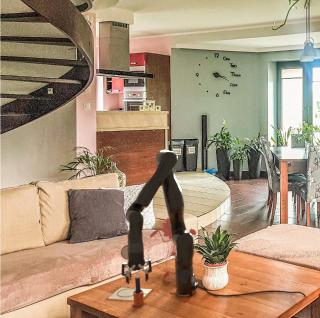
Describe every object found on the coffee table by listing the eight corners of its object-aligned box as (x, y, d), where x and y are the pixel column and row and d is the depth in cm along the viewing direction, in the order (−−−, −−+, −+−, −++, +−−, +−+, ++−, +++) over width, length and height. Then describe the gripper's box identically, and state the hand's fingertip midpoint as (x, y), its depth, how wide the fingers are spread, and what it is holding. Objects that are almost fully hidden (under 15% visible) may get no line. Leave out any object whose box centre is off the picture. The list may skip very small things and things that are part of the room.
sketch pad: (152, 290, 232) (152, 289, 232) (140, 301, 218) (140, 300, 218) (121, 288, 236) (120, 287, 236) (107, 299, 222) (107, 298, 222)
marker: (142, 303, 216) (140, 276, 214) (140, 305, 213) (138, 278, 212) (137, 302, 216) (136, 276, 214) (135, 304, 214) (134, 278, 212)
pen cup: (145, 303, 217) (145, 289, 216) (141, 307, 212) (140, 293, 211) (136, 302, 218) (136, 289, 217) (132, 307, 213) (131, 293, 212)
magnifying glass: (138, 277, 250) (136, 243, 248) (138, 278, 249) (136, 244, 246) (122, 279, 248) (120, 245, 246) (122, 280, 247) (120, 246, 244)
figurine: (200, 277, 248) (197, 217, 244) (154, 286, 237) (151, 223, 233) (192, 268, 262) (189, 211, 258) (148, 276, 251) (145, 217, 247)
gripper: (150, 245, 217) (151, 277, 219) (120, 249, 213) (121, 281, 215) (151, 250, 210) (153, 282, 212) (120, 254, 206) (122, 287, 208)
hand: (137, 282), depth 213 cm, fingers open, 8 cm apart
